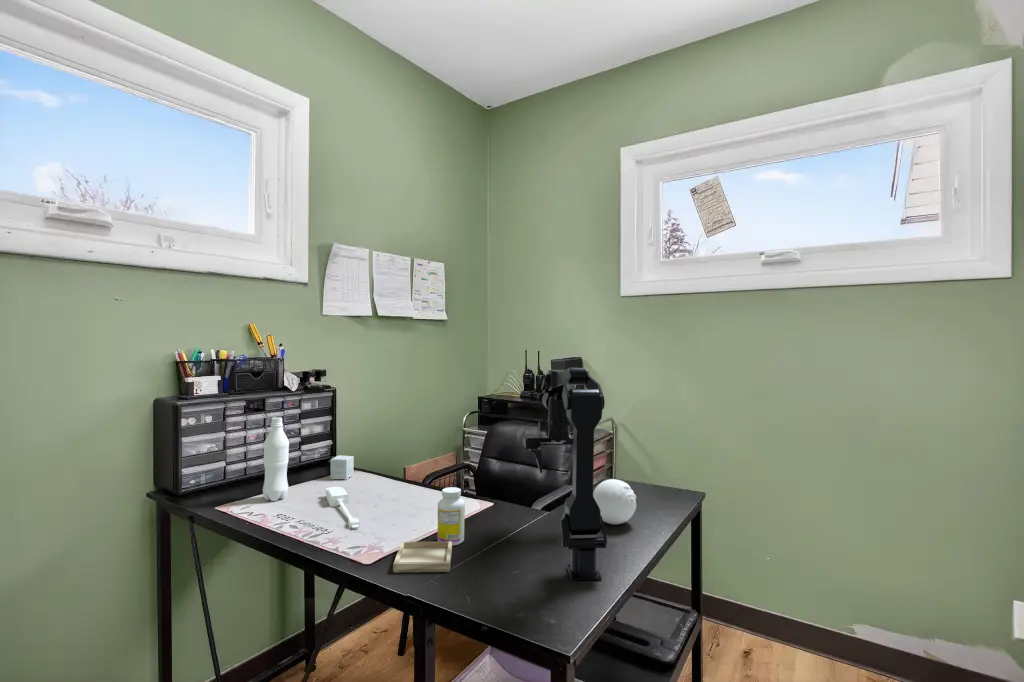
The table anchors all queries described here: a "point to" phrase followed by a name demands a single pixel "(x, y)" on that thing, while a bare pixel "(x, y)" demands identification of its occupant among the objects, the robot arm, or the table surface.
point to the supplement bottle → (451, 516)
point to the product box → (342, 467)
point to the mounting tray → (423, 557)
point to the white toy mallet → (341, 503)
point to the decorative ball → (615, 501)
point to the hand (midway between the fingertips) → (557, 472)
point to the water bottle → (276, 462)
